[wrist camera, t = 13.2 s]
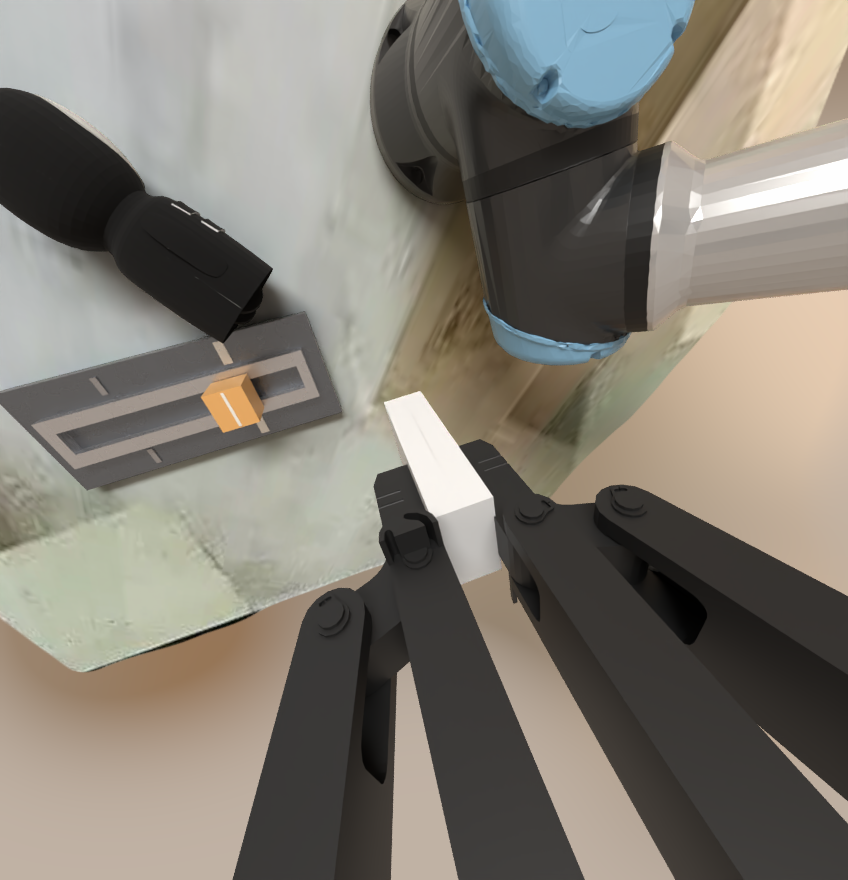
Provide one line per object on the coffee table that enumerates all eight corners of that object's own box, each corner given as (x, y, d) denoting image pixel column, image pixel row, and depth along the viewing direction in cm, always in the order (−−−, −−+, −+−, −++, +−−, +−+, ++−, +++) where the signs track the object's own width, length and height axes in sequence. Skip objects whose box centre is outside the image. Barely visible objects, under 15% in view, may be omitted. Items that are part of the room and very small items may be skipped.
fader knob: (232, 412, 41) (223, 433, 36) (213, 379, 38) (200, 397, 34) (265, 402, 41) (260, 422, 37) (248, 369, 39) (240, 386, 34)
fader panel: (93, 483, 42) (80, 497, 40) (3, 390, 35) (-19, 400, 33) (341, 407, 46) (342, 415, 44) (305, 311, 39) (304, 315, 37)
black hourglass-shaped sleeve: (289, 260, 31) (-6, 18, 21) (234, 340, 29) (-120, 117, 19) (272, 290, 39) (51, 125, 29) (228, 354, 37) (-25, 202, 27)
